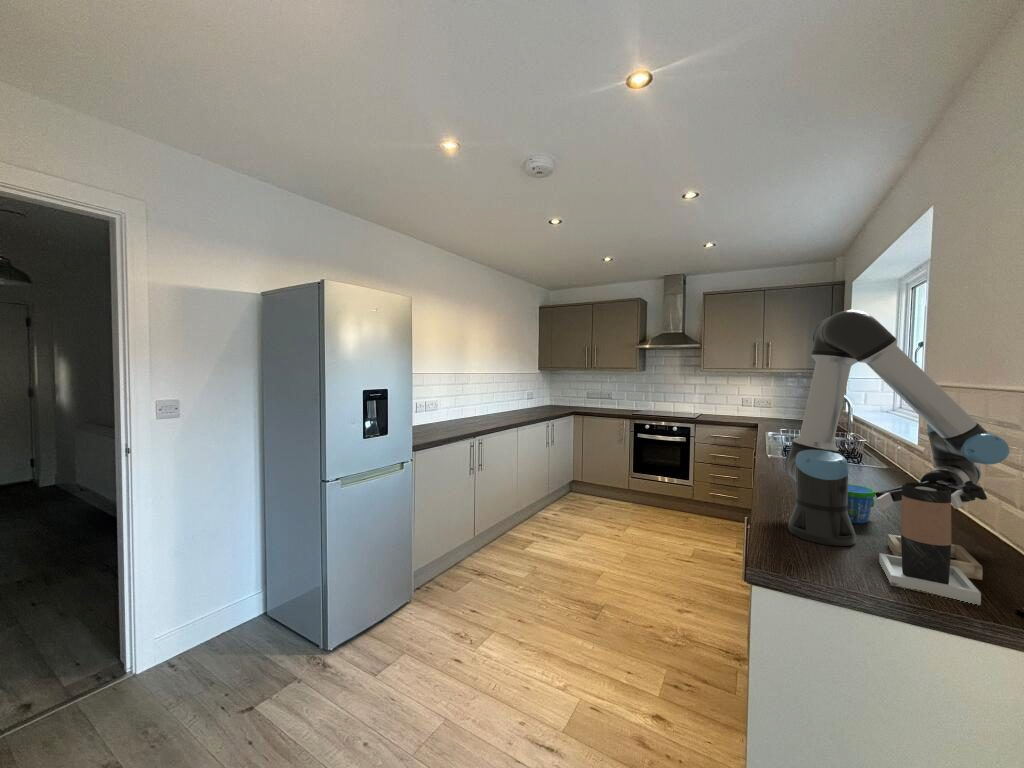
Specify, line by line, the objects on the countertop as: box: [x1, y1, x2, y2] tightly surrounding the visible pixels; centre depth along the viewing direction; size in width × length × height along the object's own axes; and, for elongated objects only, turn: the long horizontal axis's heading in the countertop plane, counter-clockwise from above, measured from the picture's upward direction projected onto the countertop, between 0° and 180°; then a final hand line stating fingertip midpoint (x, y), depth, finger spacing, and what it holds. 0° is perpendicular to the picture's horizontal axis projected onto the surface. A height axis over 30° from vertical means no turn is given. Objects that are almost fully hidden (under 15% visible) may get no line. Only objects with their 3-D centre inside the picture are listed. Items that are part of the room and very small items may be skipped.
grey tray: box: [878, 552, 982, 606], centre depth 88 cm, size 13×13×2 cm
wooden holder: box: [887, 533, 984, 581], centre depth 98 cm, size 13×13×3 cm
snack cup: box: [847, 483, 876, 524], centre depth 126 cm, size 16×10×10 cm
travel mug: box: [900, 482, 952, 585], centre depth 88 cm, size 8×8×20 cm
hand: (914, 503), depth 96 cm, fingers open, 13 cm apart
